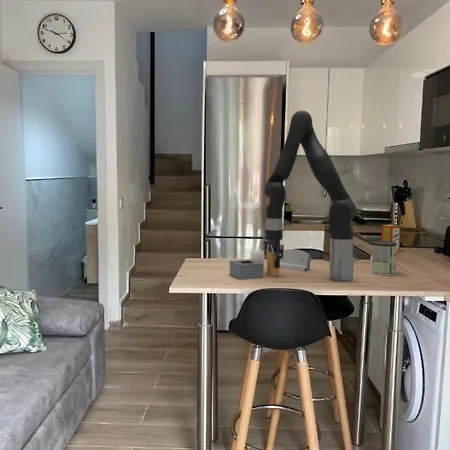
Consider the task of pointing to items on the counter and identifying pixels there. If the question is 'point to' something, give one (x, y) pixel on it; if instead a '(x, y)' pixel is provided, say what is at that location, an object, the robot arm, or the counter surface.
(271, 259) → the square bit
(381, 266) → the coffee can
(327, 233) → the wooden container
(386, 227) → the baking soda box
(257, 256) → the round bit
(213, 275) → the counter surface
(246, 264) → the block
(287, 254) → the grey curved-top upright plate
